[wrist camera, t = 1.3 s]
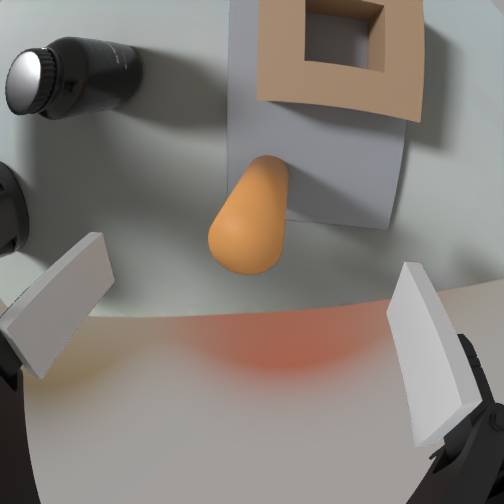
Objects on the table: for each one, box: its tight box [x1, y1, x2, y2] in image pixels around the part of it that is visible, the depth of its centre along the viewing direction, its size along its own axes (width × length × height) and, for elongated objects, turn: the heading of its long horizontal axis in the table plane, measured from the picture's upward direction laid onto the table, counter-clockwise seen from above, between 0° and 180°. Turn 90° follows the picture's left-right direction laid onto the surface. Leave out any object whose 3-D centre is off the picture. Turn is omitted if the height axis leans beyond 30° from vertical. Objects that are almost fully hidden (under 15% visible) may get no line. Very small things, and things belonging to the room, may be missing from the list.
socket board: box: [227, 0, 425, 230], centre depth 18 cm, size 15×22×6 cm
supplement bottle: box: [5, 37, 142, 120], centre depth 16 cm, size 7×7×12 cm
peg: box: [208, 155, 289, 275], centre depth 19 cm, size 4×4×12 cm
